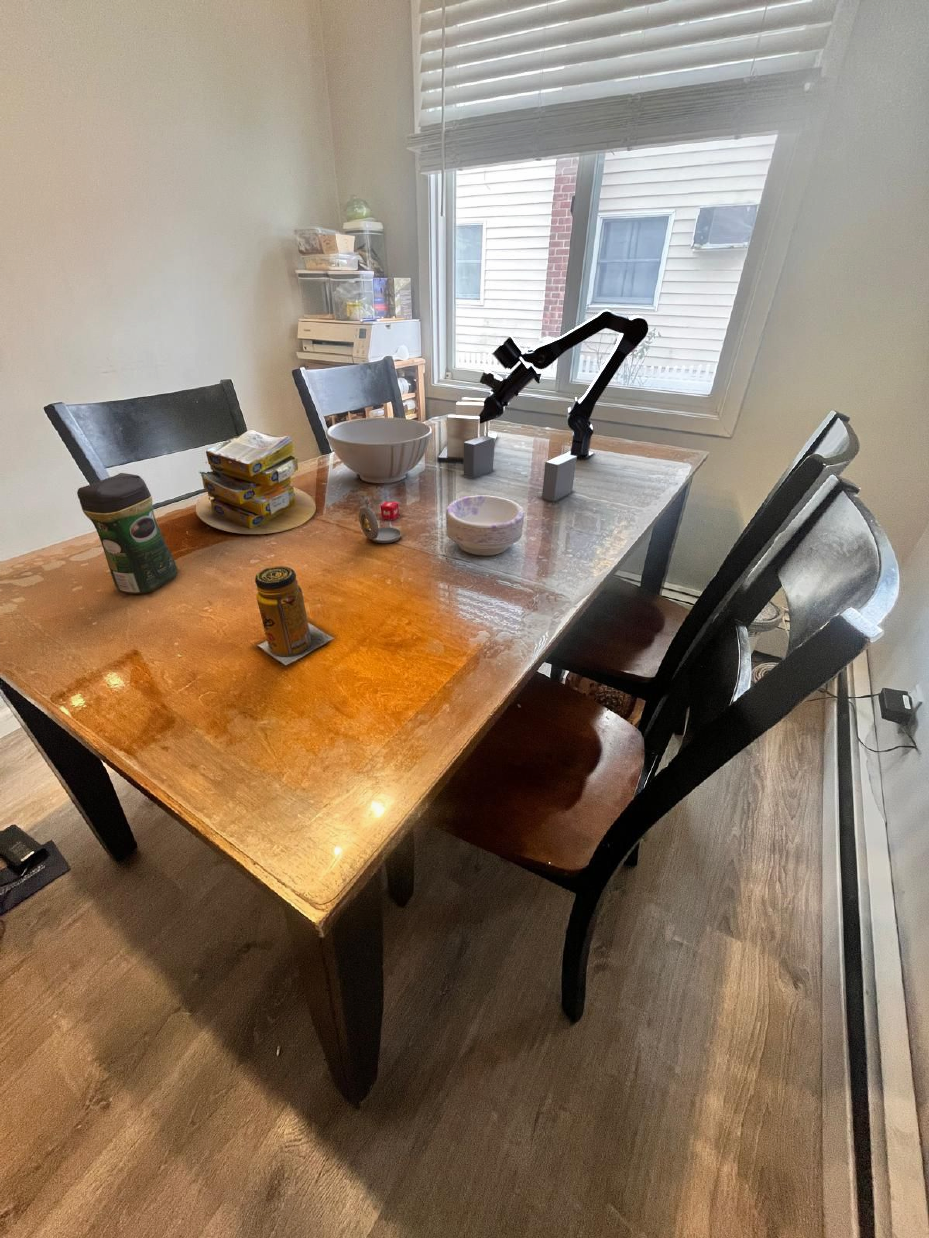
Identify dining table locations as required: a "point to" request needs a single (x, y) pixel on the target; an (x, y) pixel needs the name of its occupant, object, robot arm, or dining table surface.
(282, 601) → the condiment
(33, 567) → the dining table surface
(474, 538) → the cream and purple bowl
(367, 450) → the decorative bowl
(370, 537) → the pocket watch
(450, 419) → the book rack
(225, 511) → the stacked yellow boxes
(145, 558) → the coffee jar
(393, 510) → the dice
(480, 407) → the white book
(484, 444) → the gray bookends
